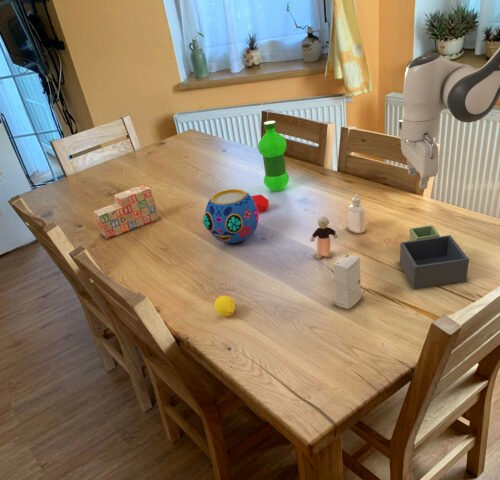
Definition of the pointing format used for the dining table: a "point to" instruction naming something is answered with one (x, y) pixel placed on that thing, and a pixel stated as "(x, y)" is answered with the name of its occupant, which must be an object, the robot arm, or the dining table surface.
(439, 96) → the robot arm
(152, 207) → the stack of blocks
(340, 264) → the cosmetic box
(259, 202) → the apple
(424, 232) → the small bin
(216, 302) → the lemon
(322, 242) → the grandmother figurine
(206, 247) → the dining table surface
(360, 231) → the eye dropper bottle
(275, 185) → the plastic bottle
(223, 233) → the ceramic pot
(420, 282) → the big bin
